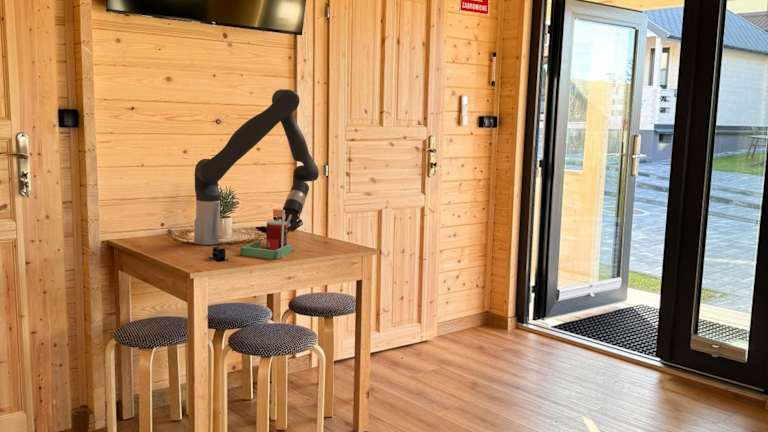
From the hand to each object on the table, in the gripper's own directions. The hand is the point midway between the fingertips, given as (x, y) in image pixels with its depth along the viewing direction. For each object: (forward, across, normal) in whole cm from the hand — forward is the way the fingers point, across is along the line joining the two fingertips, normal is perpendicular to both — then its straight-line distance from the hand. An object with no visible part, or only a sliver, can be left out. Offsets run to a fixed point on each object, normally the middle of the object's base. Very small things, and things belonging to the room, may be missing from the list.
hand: (281, 238), depth 281 cm
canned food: (+6, 0, 0) cm, 6 cm away
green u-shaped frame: (+11, 0, -6) cm, 13 cm away
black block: (+24, -11, -17) cm, 31 cm away
